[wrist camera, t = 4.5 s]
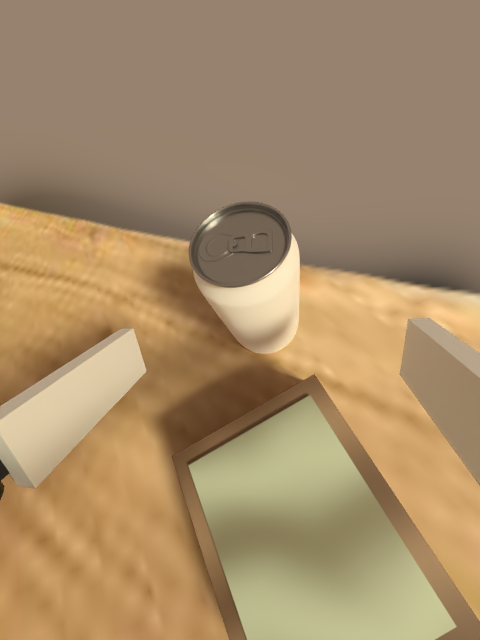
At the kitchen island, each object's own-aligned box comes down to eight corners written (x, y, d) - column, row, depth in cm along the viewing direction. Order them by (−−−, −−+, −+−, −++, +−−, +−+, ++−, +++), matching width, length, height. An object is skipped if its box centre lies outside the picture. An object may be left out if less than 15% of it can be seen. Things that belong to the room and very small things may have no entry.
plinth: (199, 448, 20) (169, 457, 15) (310, 384, 20) (314, 373, 15) (278, 661, 15) (269, 779, 10) (432, 572, 15) (497, 647, 10)
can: (234, 296, 25) (188, 204, 14) (296, 292, 24) (297, 187, 13) (231, 355, 23) (172, 298, 12) (300, 354, 21) (304, 289, 11)
